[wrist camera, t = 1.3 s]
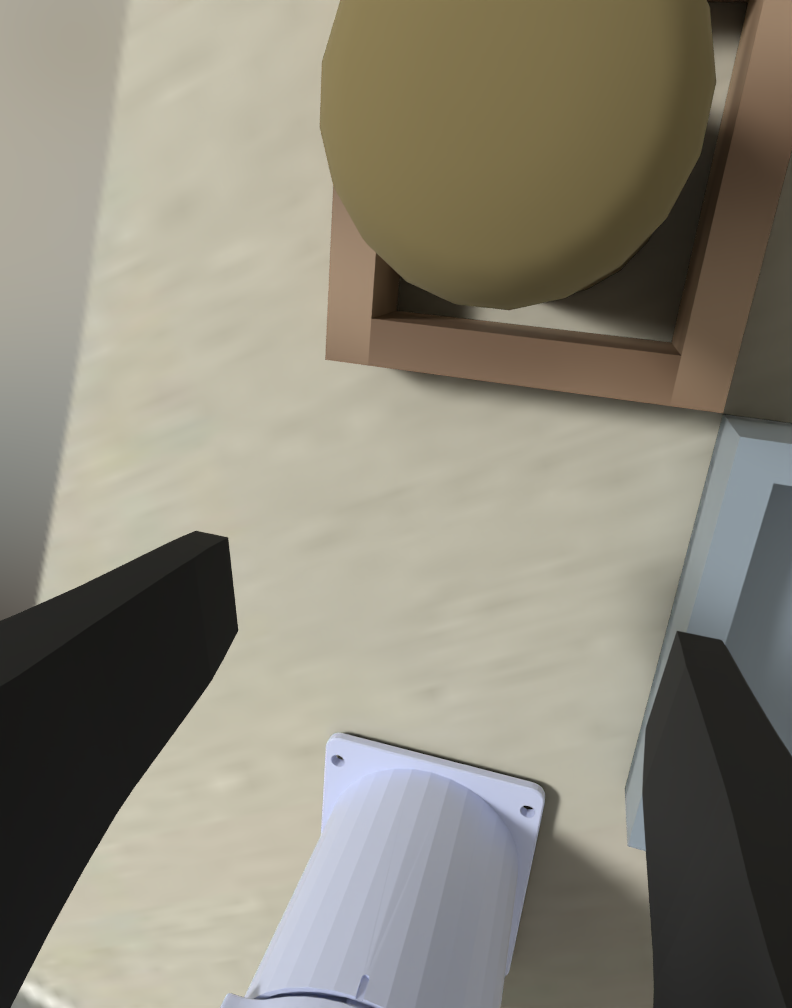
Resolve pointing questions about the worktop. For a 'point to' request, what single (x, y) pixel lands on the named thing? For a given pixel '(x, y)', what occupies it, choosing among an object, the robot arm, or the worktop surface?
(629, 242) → the cork
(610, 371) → the frame
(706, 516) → the parts tray
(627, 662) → the worktop surface
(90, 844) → the robot arm
